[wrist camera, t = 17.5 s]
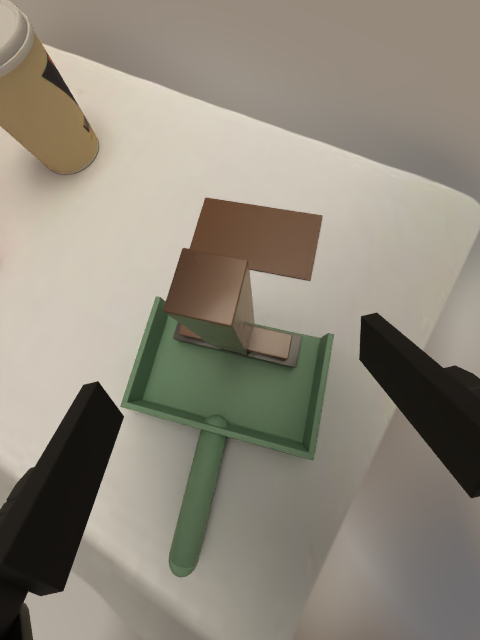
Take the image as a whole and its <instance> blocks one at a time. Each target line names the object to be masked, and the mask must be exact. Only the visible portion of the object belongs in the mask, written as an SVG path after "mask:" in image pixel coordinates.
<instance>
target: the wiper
mask: <svg viewBox="0 0 480 640" xmlns="http://www.w3.org/2000/svg"><path fill="white" fill-rule="evenodd" d="M163 312H165V313H166V314H167V315H169V316H170V317H172V318H173V319H175V320H176V321H178V323H177V326H176V329H175V333H174V336H173V339H174V340H177V341H179V342H183V343H187V344H191V345H195V346H200V347H204V348H208V349H213V350H217V351H221V352H225V353H230V354H234V355H238V356H242V357H247V358H251V359H255V360H259V361H264V362H268V363H272V364H276V365H281V366H285V367H289V368H296V366H297V361H298V355H299V350H300V345H301V339H302V336H300V335H296V334H291V333H287V332H282V331H277V330H273V329H268V328H264V327H259V326H254V313H253V302H252V292H251V282H250V272H249V262H248V260H246V259H241V258H235V257H230V256H224V255H219V254H213V253H208V252H202V251H197V250H192V249H186V248H183V249H182V252H181V255H180V258H179V262H178V265H177V268H176V271H175V274H174V278H173V281H172V284H171V287H170V290H169V293H168V297H167V300H166V303H165V306H164V309H163Z"/></svg>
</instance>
